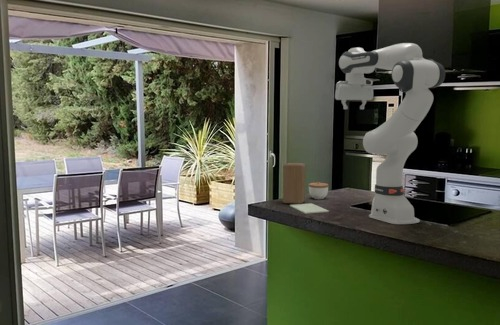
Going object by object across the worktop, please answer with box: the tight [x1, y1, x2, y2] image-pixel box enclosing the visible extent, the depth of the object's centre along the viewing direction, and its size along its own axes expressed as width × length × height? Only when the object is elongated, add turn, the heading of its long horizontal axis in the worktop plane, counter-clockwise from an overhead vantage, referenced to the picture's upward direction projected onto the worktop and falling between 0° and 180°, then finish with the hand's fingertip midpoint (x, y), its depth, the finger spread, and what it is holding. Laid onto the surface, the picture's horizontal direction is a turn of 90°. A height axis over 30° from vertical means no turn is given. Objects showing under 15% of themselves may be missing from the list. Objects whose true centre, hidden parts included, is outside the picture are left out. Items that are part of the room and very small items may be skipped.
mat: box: [289, 202, 330, 215], centre depth 220 cm, size 18×12×1 cm, turn 19°
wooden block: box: [282, 162, 306, 205], centre depth 233 cm, size 10×10×20 cm
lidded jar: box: [308, 180, 329, 200], centre depth 247 cm, size 11×11×9 cm
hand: (353, 109), depth 229 cm, fingers open, 8 cm apart
